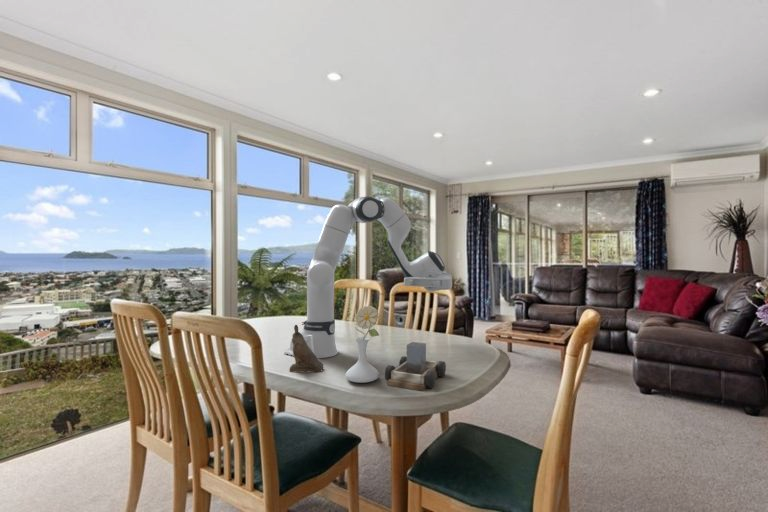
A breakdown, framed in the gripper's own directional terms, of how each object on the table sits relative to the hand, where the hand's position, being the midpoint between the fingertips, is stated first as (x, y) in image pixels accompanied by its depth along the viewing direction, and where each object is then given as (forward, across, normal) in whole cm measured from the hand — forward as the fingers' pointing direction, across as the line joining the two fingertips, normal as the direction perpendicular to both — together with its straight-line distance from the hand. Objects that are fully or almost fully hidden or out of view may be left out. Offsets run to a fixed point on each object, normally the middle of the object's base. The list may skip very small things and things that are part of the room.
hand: (421, 283), depth 152 cm
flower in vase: (+34, -8, +30) cm, 47 cm away
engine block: (+25, +7, +28) cm, 39 cm away
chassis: (+25, +7, +30) cm, 40 cm away
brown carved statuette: (+33, -32, +30) cm, 55 cm away
